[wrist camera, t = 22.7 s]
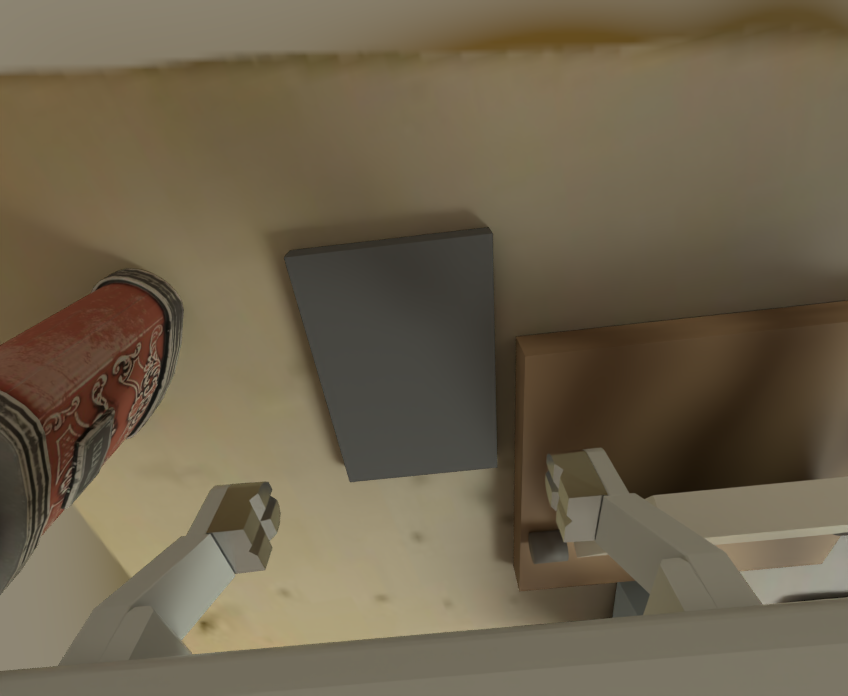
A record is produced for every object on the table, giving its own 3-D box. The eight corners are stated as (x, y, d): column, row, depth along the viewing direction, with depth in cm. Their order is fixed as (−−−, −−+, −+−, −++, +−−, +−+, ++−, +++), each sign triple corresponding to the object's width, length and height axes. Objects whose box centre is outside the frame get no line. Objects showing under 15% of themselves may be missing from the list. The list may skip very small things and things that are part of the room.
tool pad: (488, 227, 14) (492, 233, 13) (494, 455, 20) (497, 467, 19) (289, 250, 14) (283, 257, 13) (352, 469, 20) (350, 482, 19)
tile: (828, 534, 19) (813, 507, 20) (1126, 498, 11) (1084, 452, 11) (577, 557, 20) (570, 530, 20) (669, 541, 11) (652, 494, 12)
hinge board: (950, 289, 16) (1047, 322, 13) (799, 539, 24) (843, 587, 21) (515, 336, 16) (534, 376, 14) (513, 565, 24) (524, 615, 22)
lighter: (152, 437, 18) (-75, 725, 10) (70, 408, 17) (-261, 700, 9) (201, 295, 15) (-83, 546, 6) (102, 250, 14) (-390, 475, 5)
